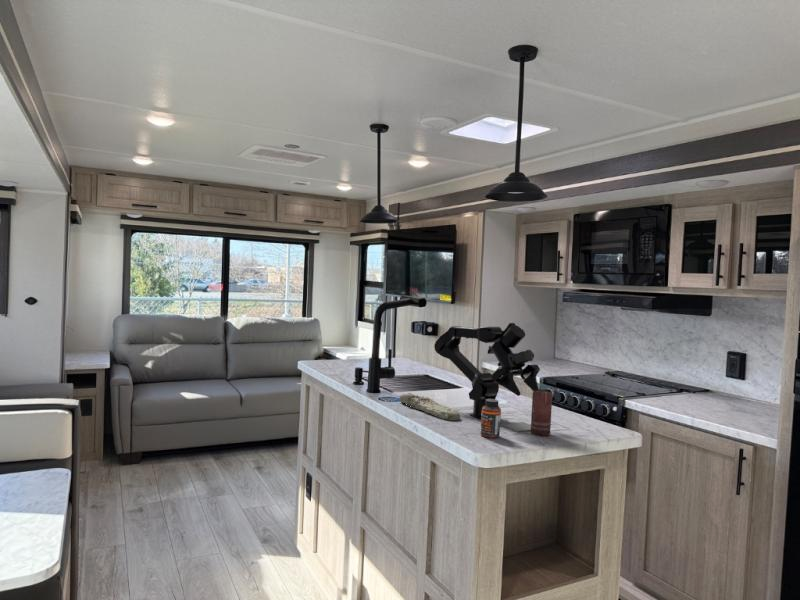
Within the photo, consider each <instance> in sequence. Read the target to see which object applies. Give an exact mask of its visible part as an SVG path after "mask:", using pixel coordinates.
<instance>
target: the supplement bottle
mask: <svg viewBox="0 0 800 600" xmlns="http://www.w3.org/2000/svg"><path fill="white" fill-rule="evenodd" d="M485 404H486V405H485V406H483V407H482V416H481V420H480V435H481V436H482V437H484V438H488V439H498V438H499V437H500V432H501V425H500V424H501V418H502V417H501V416H502V414H501V413H502V409H501V407H500V406H499V400H498V399H486V402H485Z"/></svg>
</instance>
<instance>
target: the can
mask: <svg viewBox="0 0 800 600" xmlns="http://www.w3.org/2000/svg"><path fill="white" fill-rule="evenodd" d="M531 402H532V403H531V417H530V418H531V419H530V425H531V431H530V434H532V435H533V434H534V436H537V435H539V436H538V437H548V436H547V435H549V436H550V434H551V423H552V409H553V408H552V407H553V406H552V405H553V393H552V391H551V390H548V389H539V390H534V391H532V401H531Z"/></svg>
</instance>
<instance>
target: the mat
mask: <svg viewBox="0 0 800 600" xmlns="http://www.w3.org/2000/svg"><path fill="white" fill-rule="evenodd" d="M500 427H502V428H503V427H504V428H506V429H508V430H511V431H513V432H516V433H525V432H524V431H527V432H531V423H527V422H525V421H515V422H506V423H501V422H500Z"/></svg>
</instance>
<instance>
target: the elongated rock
mask: <svg viewBox="0 0 800 600" xmlns="http://www.w3.org/2000/svg"><path fill="white" fill-rule="evenodd" d="M399 401H400V402H401V403H402V404H403V403H405V404H407V405H408V407H409V406H411V407H413V408H412V409H415V410H418V411H422V412H424V413H425V414H429V415H432V416H433V415H434V417H435V416H436V417H435V418H438V417H439V418H438V419H442V420H445V419H446V420H445V421H450V420H452V422H453V420H454V422H456V421H455V420H457V421H460V419H461V414H460V413H459V412H458V411H457V410H456V409H452V408H450V407H448V406H446V405H443V404H441V403H438V402H436V401H435V400H433V399H432V398H429V397H428V396H420V395H418V394H413V393H411V392H408V393H403V394H400V395H399ZM405 404H404V405H405ZM407 405H406V406H407ZM411 407H410V408H411Z"/></svg>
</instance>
